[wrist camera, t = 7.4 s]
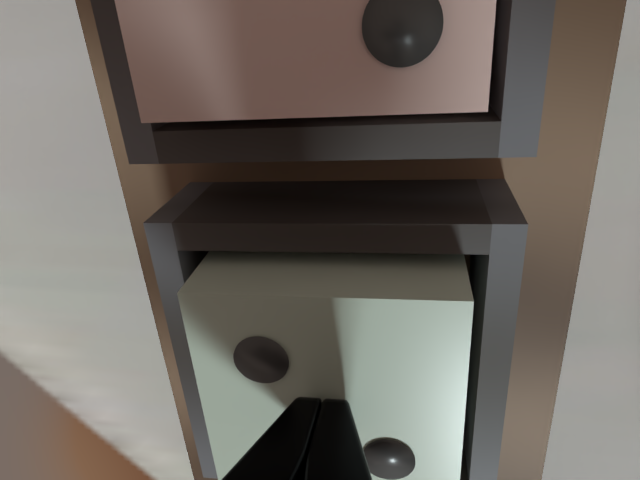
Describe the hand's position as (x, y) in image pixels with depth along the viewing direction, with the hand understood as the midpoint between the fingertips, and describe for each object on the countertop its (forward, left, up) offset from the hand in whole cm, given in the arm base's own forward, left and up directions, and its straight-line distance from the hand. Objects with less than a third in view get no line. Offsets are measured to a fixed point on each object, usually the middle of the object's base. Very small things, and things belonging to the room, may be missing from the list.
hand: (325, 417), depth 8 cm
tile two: (0, 0, -2) cm, 2 cm away
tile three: (+6, -4, -2) cm, 7 cm away
